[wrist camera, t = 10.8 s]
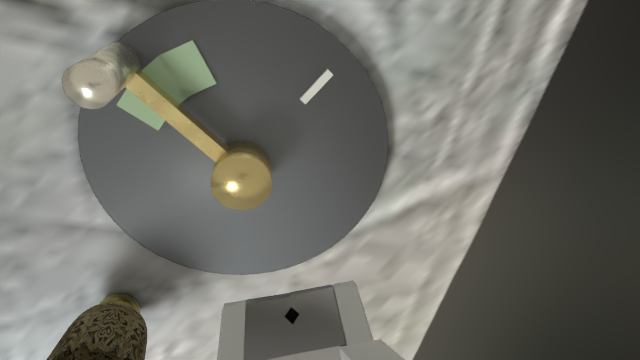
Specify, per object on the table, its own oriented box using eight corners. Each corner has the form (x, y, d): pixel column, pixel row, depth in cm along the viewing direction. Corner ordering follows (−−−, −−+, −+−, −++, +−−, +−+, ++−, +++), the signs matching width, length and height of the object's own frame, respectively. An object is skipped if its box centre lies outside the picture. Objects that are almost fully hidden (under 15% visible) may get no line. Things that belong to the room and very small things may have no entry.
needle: (282, 166, 31) (286, 208, 26) (243, 198, 32) (240, 245, 27) (127, 23, 24) (92, 40, 19) (85, 70, 25) (40, 98, 20)
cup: (88, 267, 35) (46, 343, 28) (170, 286, 37) (150, 360, 30) (73, 321, 38) (31, 401, 31) (150, 335, 40) (127, 413, 33)
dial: (261, 303, 40) (261, 311, 39) (21, 174, 30) (14, 181, 29) (440, 145, 33) (445, 150, 33) (212, -93, 23) (210, -95, 22)
